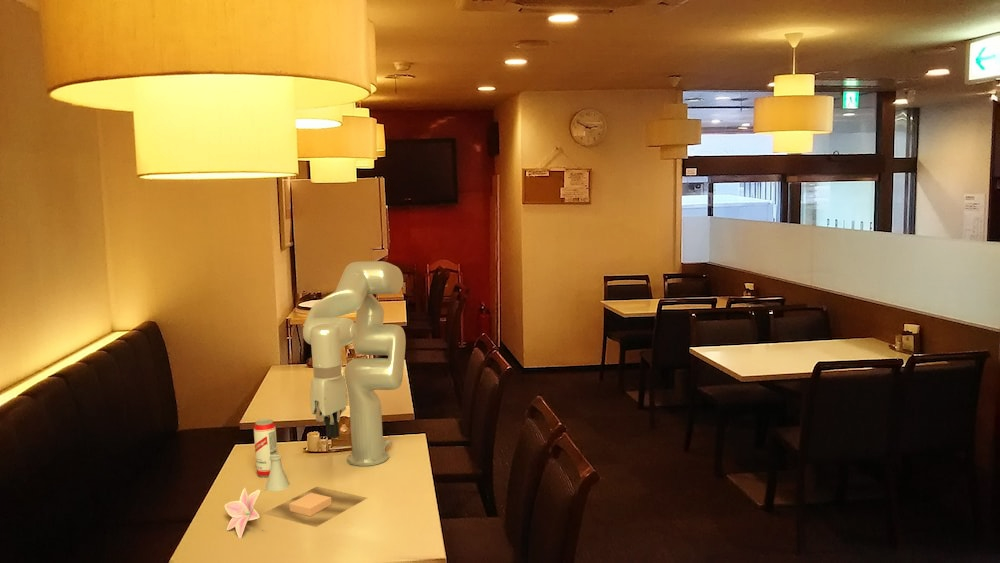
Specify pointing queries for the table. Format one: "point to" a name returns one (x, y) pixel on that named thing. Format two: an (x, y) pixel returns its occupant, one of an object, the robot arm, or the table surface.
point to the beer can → (264, 445)
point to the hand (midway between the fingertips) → (332, 436)
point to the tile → (310, 504)
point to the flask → (276, 475)
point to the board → (338, 506)
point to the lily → (242, 511)
